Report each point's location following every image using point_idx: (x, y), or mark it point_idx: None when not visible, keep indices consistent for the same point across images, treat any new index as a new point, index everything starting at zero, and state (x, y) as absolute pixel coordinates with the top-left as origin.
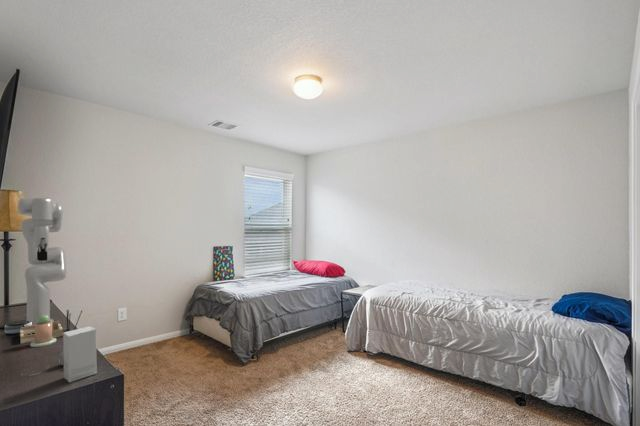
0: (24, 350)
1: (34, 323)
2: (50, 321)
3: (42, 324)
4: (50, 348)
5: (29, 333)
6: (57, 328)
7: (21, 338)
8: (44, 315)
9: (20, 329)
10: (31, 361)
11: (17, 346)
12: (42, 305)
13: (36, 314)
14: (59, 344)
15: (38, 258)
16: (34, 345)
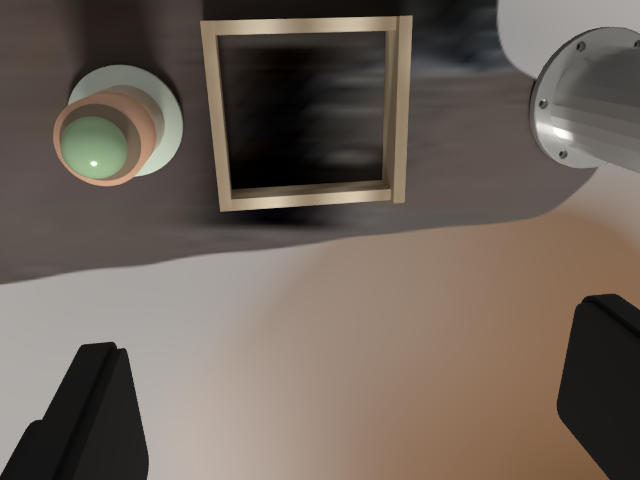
0: (48, 40)
1: (561, 83)
2: (110, 177)
3: (57, 137)
4: (2, 148)
5: (387, 60)
6: (378, 182)
7: (201, 24)
8: (76, 158)
9: (397, 17)
10: None
11: (162, 7)
12: (621, 139)
13: (589, 98)
14: (54, 184)
15: (69, 377)
16: (78, 83)
